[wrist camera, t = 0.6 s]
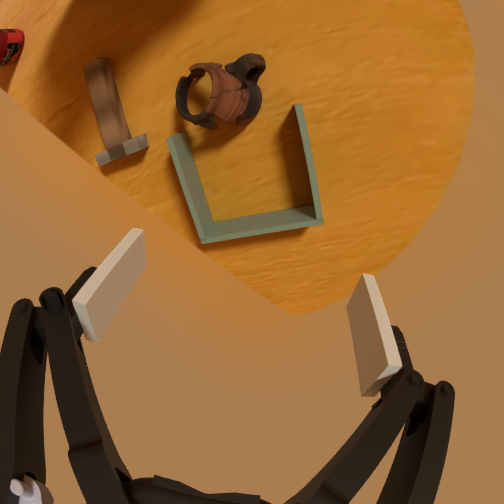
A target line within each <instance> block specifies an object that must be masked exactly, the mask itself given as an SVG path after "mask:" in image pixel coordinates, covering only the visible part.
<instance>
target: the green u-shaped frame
mask: <svg viewBox="0 0 504 504" xmlns="http://www.w3.org/2000/svg"><path fill="white" fill-rule="evenodd" d="M294 109H295V113H296V117H297V122H298V126H299V131H300V136H301V140H302V145H303V150H304V155H305V160H306V165H307V171H308V176H309V181H310V187H311V193H312V198H313V204H314V205H310V206H304V207H298V208H292V209H286V210H280V211H274V212H268V213H262V214H257V215H251V216H246V217H240V218H235V219H229V220H224V221H219V222H213V218H212V215H211V212H210V209H209V206H208V203H207V200H206V197H205V194H204V191H203V187H202V184H201V181H200V178H199V175H198V172H197V168H196V165H195V162H194V159H193V156H192V152H191V149H190V146H189V142H188V139H187V136H186V133H185V131H183V132H180V133H178V134H175V135H173V136H171V137H168V138H166V140H167V143H168V147H169V150H170V153H171V156H172V159H173V162H174V165H175V168H176V171H177V174H178V177H179V180H180V183H181V186H182V189H183V192H184V195H185V198H186V201H187V204H188V207H189V209H190V212H191V215H192V218H193V221H194V224H195V226H196V229H197V232H198V235H199V238H200V240H201V243H202V244H206V243H212V242H218V241H224V240H230V239H236V238H242V237H248V236H254V235H260V234H266V233H272V232H278V231H285V230H291V229H297V228H304V227H310V226H317V225H323V224H324V223H323V216H322V209H321V202H320V196H319V190H318V184H317V178H316V172H315V167H314V161H313V156H312V151H311V145H310V140H309V135H308V131H307V126H306V121H305V117H304V112H303V108H302V104H294Z"/></svg>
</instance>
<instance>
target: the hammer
mask: <svg viewBox="0 0 504 504" xmlns="http://www.w3.org/2000/svg"><path fill="white" fill-rule="evenodd" d="M83 68H84V72H85V76H86V80H87V84H88V88H89V92H90V96H91V100H92V103H93V107H94V110H95V114H96V117H97V120H98V124H99V127H100V130H101V133H102V137H103V140H104V143H105V146H106V149H107V150H104V151H102V152H100V153H98V154H96V155H95V157H96V160H97V163H98V165H99V167H100V166H102V165H104V164H107V163H109V162H112V161H114V160H116V159H119V158H121V157H124V156H126V155H129V154H132V153H134V152H137V151H139V150H142V149H144V148H146V147H148V146H149V143H148V139H147V136H146V134H143V135H140V136H137V137H135V138H131V134H130V131H129V128H128V125H127V122H126V118H125V115H124V112H123V108H122V105H121V101H120V98H119V94H118V91H117V87H116V83H115V80H114V76H113V72H112V68H111V64H110V60H109V58H97V59H95V60H94V61H92V62H90V63H89V64H87V65H86V66H84V67H83Z"/></svg>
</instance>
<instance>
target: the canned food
mask: <svg viewBox="0 0 504 504" xmlns="http://www.w3.org/2000/svg"><path fill="white" fill-rule="evenodd" d="M23 46H24V33H23V32H22V31H21V30H19V29H0V66H6V65H10V64H12V63H14V62H15V61H16V60H17V59H18V57H19V56H20V54H21V52H22V49H23Z"/></svg>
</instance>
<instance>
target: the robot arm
mask: <svg viewBox="0 0 504 504" xmlns="http://www.w3.org/2000/svg"><path fill="white" fill-rule="evenodd" d="M145 268H146V257H145V238H144V230H142V229H137V228H132V229H131V230H130V232H129V233H128V234H127V235H126V236H125V237H124V238H123V239H122V241H121V242H120V243H119V244H118V245H117V246H116V247H115V248H114V249H113V251H112V252H111V253H110V254H109V255H108V256H107V258H106V259H105V260H104V261H103V262H102V263H101V265H100V266H99V267H98V268H96V267H90V268H88V269H87V270H85V271H84V272H83V273H82V274H81V275H80V277H79V279H77V280H76V281H75V283H74V284H73V285H72V286H71V287H70V289H69V290H68V291H67V293H66V294H65V295H64V294H63V291H62V290H61V289H60V288H57V287H51V288H48V289H46V290H44V291H43V292H42V293H41V295H40V297H39V301H40V304H41V306H42V307H34V305H33V303H32V301H31V300H30V299H26V298H24V299H20V300H19V301H17V302H16V303H15V304H14V305H13V307H12V310H11V313H10V317H9V320H8V324H7V328H6V331H5V335H4V339H3V343H2V348H1V352H0V504H53V502H54V500H53V497H52V495H51V492H50V491H49V489H48V488H47V487H46V486H45V483H46V466H45V454H44V453H45V452H44V432H43V431H44V430H43V406H44V384H45V371H46V361H47V352H48V356H49V363H50V369H51V374H52V380H53V386H54V391H55V395H56V400H57V404H58V409H59V413H60V416H61V420H62V424H63V428H64V431H65V434H66V438H67V441H68V444H69V451H68V457H69V461H70V463H71V466H72V469H73V471H74V474H75V476H76V479H77V482H78V484H79V487H80V489H81V491H82V493H83V496H84V498H85V500H86V502H87V503H86V504H271V503H269V502H267V501H265V500H262V499H260V495H249V494H241V493H218V494H206V493H203V492H200V491H198V490H196V489H194V488H192V487H189V486H187V485H185V484H183V483H181V482H179V481H175V480H171V479H167V478H163V477H160V476H157V475H154V478H138V479H134V480H133V479H132V478H131V476H130V474H129V472H128V470H127V468H126V466H125V465H124V463H123V462H122V460H121V458H120V456H119V454H118V452H117V449H116V447H115V445H114V442H113V440H112V438H111V435H110V433H109V430H108V428H107V425H106V423H105V420H104V417H103V414H102V411H101V409H100V406H99V403H98V400H97V397H96V394H95V391H94V387H93V384H92V381H91V377H90V374H89V370H88V367H87V363H86V359H85V355H84V351H83V347H82V342H81V339H80V337H81V335H82V334H83V333H84V335H85V338H86V340H88V341H91V342H94V343H96V344H99V342H100V341H101V339H102V337H103V335H104V334H105V332H106V330H107V328H108V327H109V325H110V323H111V322H112V320H113V318H114V317H115V315H116V314H117V312H118V310H119V309H120V307H121V305H122V304H123V302H124V300H125V299H126V297H127V296H128V294H129V293H130V291H131V290H132V288H133V286H134V285H135V283H136V282H137V280H138V279H139V277H140V276H141V274H142V273H143V271H144V269H145ZM347 312H348V317H349V322H350V328H351V333H352V339H353V345H354V350H355V356H356V362H357V369H358V376H359V383H360V391H361V396H368V397H374V396H375V395H376V394H377V393H378V392H379V391H380V392H381V398H380V399H379V400H378V401H377V402H376V403H375V404H374V405H373V406H372V409H371V411H370V412H369V413H368V415H367V416H366V417H365V419H364V420H363V421H362V423H361V424H360V425H359V427H358V428H357V429H356V430H355V432H354V433H353V434H352V435H351V437H350V438H349V439H348V440H347V441H346V443H345V444H344V445H343V446H342V447H341V449H340V450H339V451H338V452H337V453H336V454H335V455H334V457H333V458H332V459H331V460H330V461H329V462H328V463H327V464H326V465H325V467H323V468H322V469H321V471H320V472H319V473H318V474H317V475H316V476H315V477H314V478H313V479H312V480H311V481H310V482H309V483H308V484H307V485H306V486H305V487H304V488H303V489H302V490H300V491H299V492H298V493H297V494H296V495H294V496H293V497H292V498H290V499H289V500H288V501H286V502H285V503H284V504H349V502H350V501H351V499H352V498H353V497H354V496H355V495H356V493H357V492H358V491H359V490H360V488H361V487H362V486H363V484H364V483H365V482H366V481H367V479H368V478H369V477H370V475H371V474H372V472H373V471H374V470H375V469H376V467H377V466H378V464H379V463H380V461H381V460H382V458H383V457H384V456H385V454H386V453H387V451H388V450H389V448H390V447H391V445H392V443H393V442H394V440H395V439H396V437H397V435H398V434H399V432H400V430H401V429H402V427H403V425H404V423H405V426H404V430H403V433H402V436H401V440H400V443H399V446H398V449H397V452H396V455H395V458H394V461H393V464H392V467H391V469H390V472H389V474H388V478H387V479H386V482H385V484H384V487H383V489H382V492H381V494H380V496H379V499H378V501H377V503H376V504H433V503H434V500H435V497H436V493H437V490H438V486H439V483H440V479H441V475H442V471H443V467H444V463H445V458H446V454H447V448H448V443H449V438H450V432H451V425H452V418H453V410H454V400H455V391H454V388H453V386H452V385H451V384H450V383H448V382H447V381H440V382H439V383H438V384H436V385H433V384H430V383H427V382H424V379H423V377H422V376H421V374H420V373H419V372H417V371H415V370H413V366H412V363H411V359H410V356H409V352H408V349H407V346H406V343H405V340H404V337H403V334H402V332H401V331H400V329H399V328H398V327H397V326H391V325H390V321H389V318H388V315H387V312H386V309H385V306H384V303H383V300H382V297H381V295H380V292H379V289H378V286H377V283H376V281H375V278H374V275H369V274H364V273H362V276H361V278H360V280H359V282H358V284H357V286H356V288H355V290H354V292H353V295H352V297H351V299H350V301H349V303H348V305H347Z"/></svg>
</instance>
